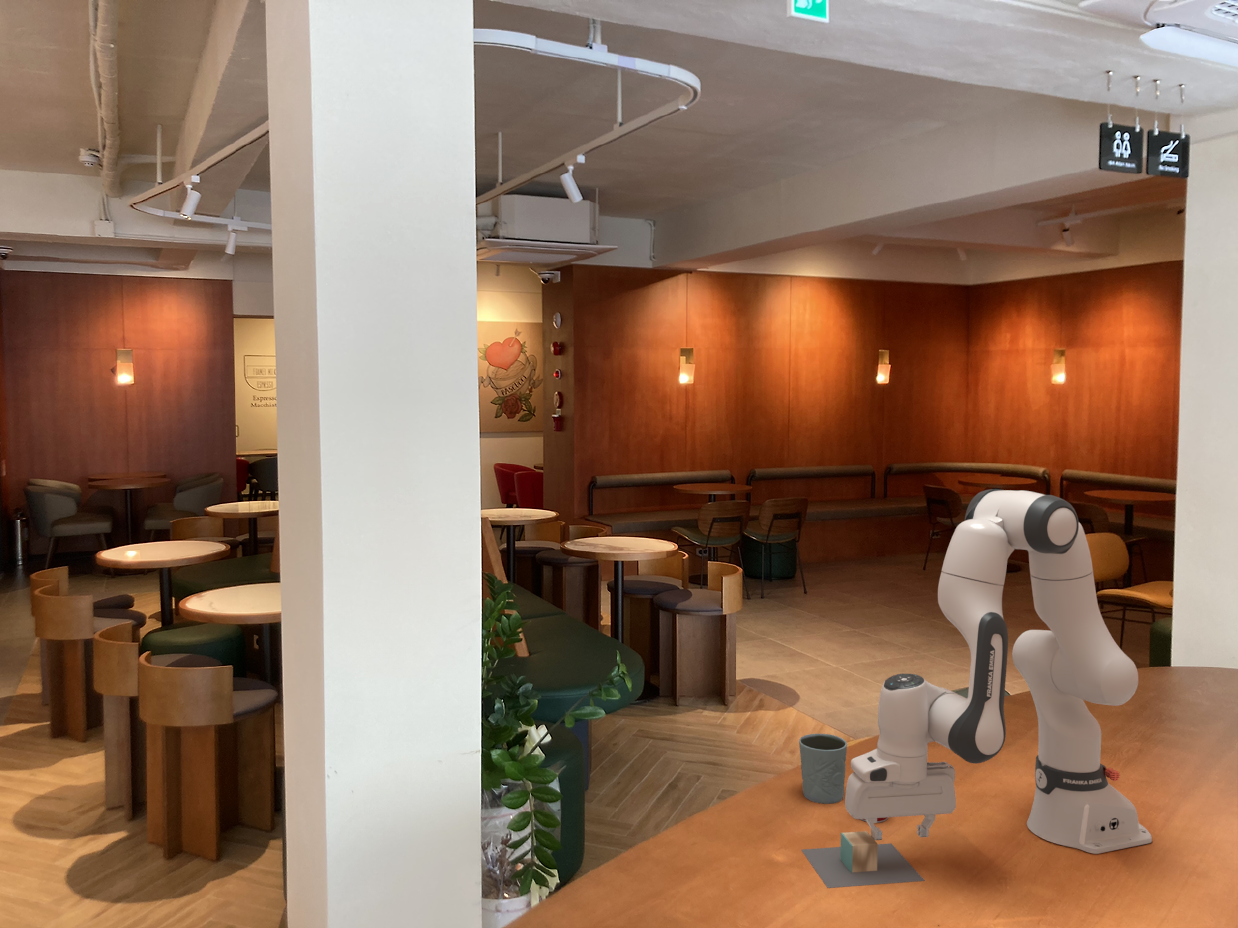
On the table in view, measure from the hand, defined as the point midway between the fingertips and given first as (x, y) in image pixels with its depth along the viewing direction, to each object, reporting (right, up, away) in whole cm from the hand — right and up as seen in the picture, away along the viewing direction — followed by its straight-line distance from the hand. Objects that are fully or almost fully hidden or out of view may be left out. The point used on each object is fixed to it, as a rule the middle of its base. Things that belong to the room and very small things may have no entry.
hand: (899, 837), depth 172 cm
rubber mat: (-7, -5, -1) cm, 9 cm away
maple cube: (-5, -2, 0) cm, 6 cm away
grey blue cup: (-8, -3, +31) cm, 32 cm away
